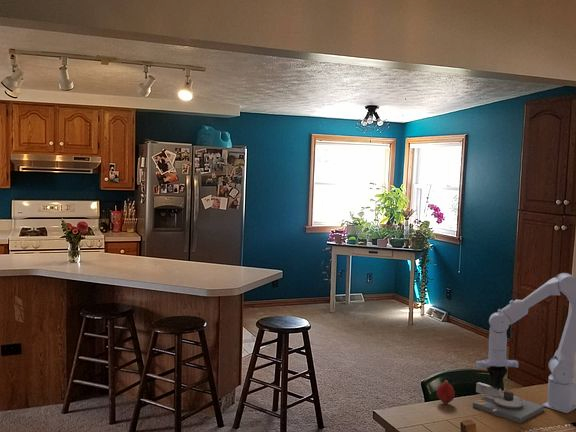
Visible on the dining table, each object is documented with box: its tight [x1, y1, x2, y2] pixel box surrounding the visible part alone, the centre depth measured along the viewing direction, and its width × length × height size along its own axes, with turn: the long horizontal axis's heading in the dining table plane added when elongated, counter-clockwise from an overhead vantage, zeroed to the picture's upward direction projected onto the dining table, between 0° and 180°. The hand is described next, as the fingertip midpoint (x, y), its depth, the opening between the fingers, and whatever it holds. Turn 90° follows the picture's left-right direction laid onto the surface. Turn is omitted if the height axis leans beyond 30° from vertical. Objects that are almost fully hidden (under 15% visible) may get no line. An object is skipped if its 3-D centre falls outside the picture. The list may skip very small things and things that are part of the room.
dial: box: [475, 381, 524, 409], centre depth 179 cm, size 16×9×4 cm, turn 41°
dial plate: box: [472, 392, 545, 424], centre depth 177 cm, size 16×18×2 cm
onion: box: [436, 379, 456, 405], centre depth 180 cm, size 6×6×8 cm
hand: (496, 388), depth 185 cm, fingers closed
